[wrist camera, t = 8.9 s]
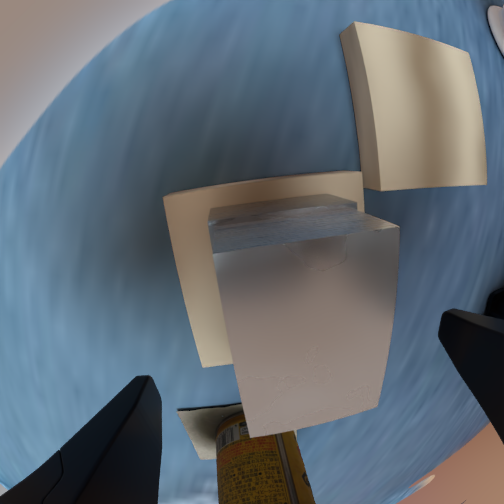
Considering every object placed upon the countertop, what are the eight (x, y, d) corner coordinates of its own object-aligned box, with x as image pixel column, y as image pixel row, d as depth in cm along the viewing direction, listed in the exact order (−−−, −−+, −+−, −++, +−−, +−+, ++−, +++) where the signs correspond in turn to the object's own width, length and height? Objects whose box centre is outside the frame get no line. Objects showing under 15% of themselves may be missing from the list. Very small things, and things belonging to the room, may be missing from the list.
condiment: (296, 445, 21) (330, 559, 9) (200, 458, 20) (204, 575, 9) (295, 392, 18) (346, 542, 7) (176, 408, 18) (166, 561, 6)
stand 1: (344, 170, 14) (362, 171, 12) (348, 319, 17) (361, 336, 15) (170, 192, 14) (162, 197, 12) (203, 346, 16) (202, 367, 14)
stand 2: (450, 58, 12) (468, 52, 11) (467, 181, 15) (486, 184, 13) (339, 35, 12) (353, 21, 10) (362, 187, 15) (381, 191, 13)
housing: (327, 193, 12) (405, 218, 7) (331, 330, 15) (380, 408, 9) (210, 208, 12) (202, 247, 6) (234, 348, 14) (245, 441, 9)
